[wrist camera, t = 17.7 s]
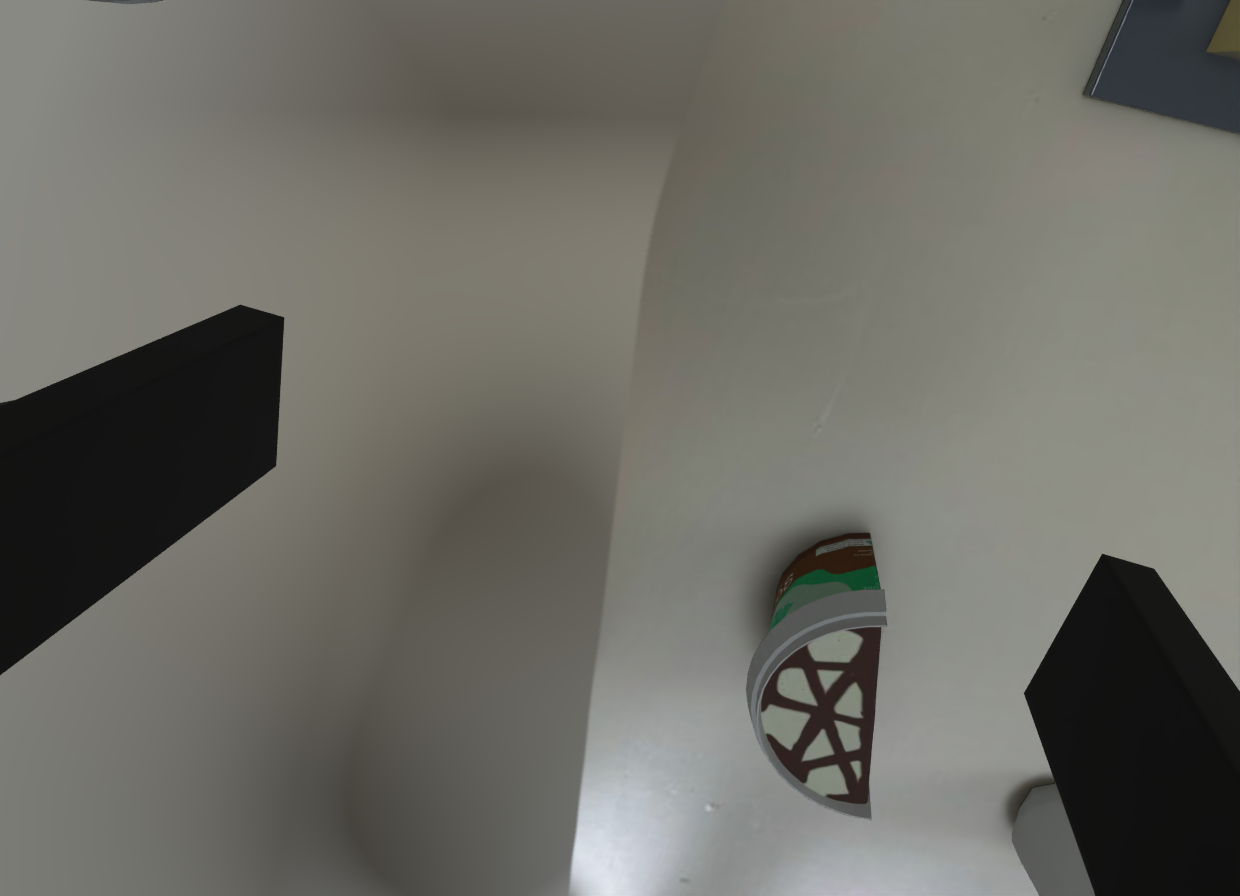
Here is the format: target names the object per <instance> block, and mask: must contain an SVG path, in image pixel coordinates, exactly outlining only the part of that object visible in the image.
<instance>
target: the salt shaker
mask: <svg viewBox="0 0 1240 896" xmlns="http://www.w3.org/2000/svg"><path fill="white" fill-rule="evenodd" d="M1012 842H1013V844H1014V847H1015V849H1016V852H1017V854H1018V857H1019V859H1020V861H1021V862H1022V864H1023V866H1024V868H1025V870H1026V872H1027V874H1028V875H1029V877H1030V879H1031V881H1032V883H1033V885H1034V887H1035V888H1036V890H1037V892H1038V894H1039V896H1095V894H1094V891H1093V888H1092V885H1091V882H1090V879H1089V877H1088V874H1087V871H1086V868H1085V865H1084V862H1083V860H1082V857H1081V854H1080V851H1079V848H1078V845H1077V842H1076V840H1075V837H1074V834H1073V831H1072V828H1071V825H1070V823H1069V820H1068V817H1067V814H1066V811H1065V808H1064V806H1063V803H1062V800H1061V797H1060V794H1059V791H1058V788H1057V786H1056V784H1051V785H1045V786H1039V787H1034V788H1032V789H1031V791H1030V793H1029V794H1028V796H1027V797H1026V799H1025V800H1024V802H1023V804H1022V805H1021V807H1020V808H1019V811H1018V815H1017V818H1016V822H1015V825H1014V828H1013V832H1012Z"/></svg>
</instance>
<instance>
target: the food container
mask: <svg viewBox="0 0 1240 896" xmlns="http://www.w3.org/2000/svg"><path fill="white" fill-rule="evenodd" d="M881 627H887V620H886V603H885V593H884V589H883V590H881V588H880V583H879V577H878V572H877V567H876V562H875V556H874V551H873V546H872V541H871V535H870V533H858V534H845V535H842V536H838V537H835V538H831V539H827V540H824V541H820V542H819V543H817V544H815V545H814V546H812V547H811V548H809V549H807V550H806V551H804V552H802V553H801V554H799V555H798V556H797V557H796V558H795V560H794V561H793V562H792V563H791V564H790V566H789V567H788V568H787V569H786V570H785V572H784V573H783V574H782V577H781V580H780V583H779V585H778V588H777V591H776V597H775V602H774V607H773V613H772V618H771V624H770V629H769V633H768V634H767V636H766V637H765V638H764V639H763V641H762V642H761V643H760V645H759V647H758V649H757V650H756V652H755V654H754V656H753V658H752V661H751V665H750V668H749V671H748V677H747V686H746V692H747V702H748V708H749V712H750V716H751V720H752V724H753V728H754V731H755V735H756V738H757V740H758V742H759V744H760V746H761V748H762V750H763V752H764V754H765V755H766V757H767V759H768V761H769V762H770V763H771V765H772V766H773V768H774V769H775V770H776V772H777V773H778V774H779V775H780V776H781V777H782V778H783V779H784V780H785V781H786V782H787V783H788V784H789V785H790V786H791V787H792V788H793V789H795V790H796V791H797V792H799V793H800V794H801V795H803V796H804V797H806V798H808V799H809V800H811V801H813V802H815V803H816V804H818V805H820V806H822V807H825V808H827V809H830V810H832V811H834V812H837V813H841V814H844V815H848V816H851V817H855V818H861V819H867V820H871V806H870V792H869V775H870V764H871V751H872V740H873V730H874V720H875V704H876V689H877V677H878V665H879V652H880V639H881Z"/></svg>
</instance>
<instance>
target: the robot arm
mask: <svg viewBox="0 0 1240 896" xmlns="http://www.w3.org/2000/svg"><path fill="white" fill-rule="evenodd" d="M283 330H284V317H281V316H277V315H274V314H271V313H267V312H264V311H260V310H256V309H253V308H249V307H246V306H243V305H238V306H236V307H234V308H231V309H229V310H227V311H225V312H222V313H220V314H217V315H215V316H212V317H210V318H208V319H205V320H203V321H201V322H198V323H196V324H194V325H191V326H189V327H187V328H184V329H182V330H179V331H177V332H175V333H172V334H170V335H168V336H165V337H163V338H161V339H158V340H156V341H154V342H151V343H149V344H146V345H144V346H142V347H139V348H137V349H135V350H132V351H130V352H128V353H125V354H123V355H121V356H118V357H116V358H113V359H111V360H109V361H106V362H104V363H102V364H99V365H97V366H95V367H92V368H90V369H88V370H85V371H83V372H81V373H78V374H76V375H73V376H71V377H69V378H66V379H64V380H61V381H59V382H57V383H54V384H52V385H50V386H47V387H45V388H43V389H41V390H38V391H36V392H33V393H31V394H28V395H26V396H24V397H22V398H19V399H17V400H13V401H8V402H3V403H0V675H1V674H2V673H3V672H5V671H6V670H8V669H9V668H10V667H12V666H13V665H14V664H15V663H17V662H18V661H19V660H21V659H22V658H24V657H25V656H26V655H27V654H29V653H30V652H31V651H33V650H34V649H35V648H37V647H38V646H39V645H41V644H42V643H43V642H45V641H46V640H47V639H49V638H50V637H51V636H52V635H54V634H55V633H57V632H58V631H59V630H60V629H62V628H63V627H64V626H66V625H67V624H68V623H70V622H71V621H72V620H73V619H75V618H76V617H78V616H79V615H80V614H81V613H83V612H84V611H85V610H87V609H88V608H89V607H91V606H92V605H93V604H95V603H96V602H97V601H99V600H100V599H101V598H103V597H104V596H105V595H107V594H108V593H109V592H111V591H112V590H113V589H115V588H116V587H117V586H118V585H120V584H121V583H122V582H124V581H125V580H126V579H128V578H129V577H130V576H132V575H133V574H134V573H136V572H137V571H138V570H140V569H141V568H142V567H143V566H145V565H146V564H147V563H149V562H150V561H151V560H153V559H154V558H155V557H157V556H158V555H159V554H161V553H162V552H163V551H165V550H166V549H167V548H169V547H170V546H171V545H173V544H174V543H175V542H176V541H178V540H179V539H180V538H182V537H183V536H184V535H186V534H187V533H188V532H190V531H191V530H192V529H193V528H195V527H196V526H197V525H199V524H200V523H201V522H203V521H204V520H205V519H207V518H208V517H209V516H211V515H212V514H213V513H214V512H216V511H217V510H219V509H220V508H221V507H223V506H224V505H225V504H226V503H228V502H229V501H230V500H232V499H233V498H234V497H236V496H237V495H238V494H240V493H241V492H242V491H244V490H245V489H246V488H248V487H249V486H250V485H251V484H253V483H254V482H255V481H257V480H258V479H260V478H261V477H262V476H264V475H265V474H266V473H267V472H269V471H270V470H271V469H273V468H274V467H275V466H276V457H277V438H278V421H279V402H280V385H281V367H282V349H283ZM1024 695H1025V698H1026V700H1027V703H1028V706H1029V709H1030V712H1031V715H1032V717H1033V720H1034V723H1035V726H1036V729H1037V732H1038V734H1039V737H1040V740H1041V743H1042V746H1043V749H1044V752H1045V754H1046V757H1047V760H1048V763H1049V766H1050V769H1051V771H1052V774H1053V777H1054V780H1055V783H1056V786H1057V788H1058V791H1059V794H1060V797H1061V800H1062V803H1063V806H1064V808H1065V811H1066V814H1067V817H1068V820H1069V823H1070V825H1071V828H1072V831H1073V834H1074V837H1075V840H1076V842H1077V845H1078V848H1079V851H1080V854H1081V857H1082V860H1083V862H1084V865H1085V868H1086V871H1087V874H1088V877H1089V879H1090V882H1091V885H1092V888H1093V891H1094V894H1095V896H1240V691H1239V690H1238V688H1237V687H1236V685H1235V684H1234V683H1233V681H1232V680H1231V678H1230V677H1229V675H1228V674H1227V673H1226V671H1225V670H1224V668H1223V667H1222V665H1221V664H1220V663H1219V661H1218V660H1217V658H1216V657H1215V655H1214V654H1213V652H1212V651H1211V650H1210V648H1209V647H1208V645H1207V644H1206V642H1205V641H1204V640H1203V638H1202V637H1201V635H1200V634H1199V632H1198V631H1197V630H1196V628H1195V627H1194V625H1193V624H1192V622H1191V621H1190V620H1189V618H1188V617H1187V615H1186V614H1185V612H1184V611H1183V609H1182V608H1181V607H1180V605H1179V604H1178V602H1177V601H1176V599H1175V598H1174V597H1173V595H1172V594H1171V592H1170V591H1169V589H1168V588H1167V587H1166V585H1165V584H1164V582H1163V581H1162V579H1161V578H1160V577H1159V575H1158V574H1157V572H1156V571H1155V569H1153V568H1150V567H1146V566H1143V565H1139V564H1136V563H1132V562H1129V561H1125V560H1122V559H1118V558H1115V557H1111V556H1108V555H1105V554H1102V555H1101V557H1100V559H1099V561H1098V562H1097V564H1096V566H1095V568H1094V569H1093V571H1092V573H1091V575H1090V577H1089V578H1088V580H1087V582H1086V584H1085V586H1084V587H1083V589H1082V591H1081V593H1080V594H1079V596H1078V598H1077V600H1076V602H1075V603H1074V605H1073V607H1072V609H1071V610H1070V612H1069V614H1068V616H1067V618H1066V619H1065V621H1064V623H1063V625H1062V627H1061V628H1060V630H1059V632H1058V634H1057V635H1056V637H1055V639H1054V641H1053V643H1052V644H1051V646H1050V648H1049V650H1048V651H1047V653H1046V655H1045V657H1044V659H1043V660H1042V662H1041V664H1040V666H1039V668H1038V669H1037V671H1036V673H1035V675H1034V676H1033V678H1032V680H1031V682H1030V684H1029V685H1028V687H1027V689H1026V691H1025V692H1024Z"/></svg>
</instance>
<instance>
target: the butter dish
mask: <svg viewBox="0 0 1240 896" xmlns="http://www.w3.org/2000/svg"><path fill="white" fill-rule="evenodd" d="M1084 96H1087V97H1091V98H1095V99H1099V100H1103V101H1107V102H1111V103H1115V104H1119V105H1123V106H1127V107H1131V108H1135V109H1139V110H1143V111H1147V112H1151V113H1155V114H1159V115H1163V116H1167V117H1171V118H1176V119H1180V120H1184V121H1188V122H1192V123H1196V124H1200V125H1204V126H1208V127H1212V128H1216V129H1220V130H1224V131H1228V132H1232V133H1236V134H1240V0H1123V3H1122V5H1121V7H1120V10H1119V12H1118V14H1117V17H1116V19H1115V21H1114V24H1113V26H1112V28H1111V31H1110V33H1109V35H1108V38H1107V40H1106V42H1105V45H1104V47H1103V49H1102V52H1101V54H1100V56H1099V59H1098V61H1097V63H1096V66H1095V68H1094V70H1093V73H1092V75H1091V77H1090V80H1089V82H1088V84H1087V87H1086V89H1085V91H1084Z"/></svg>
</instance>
